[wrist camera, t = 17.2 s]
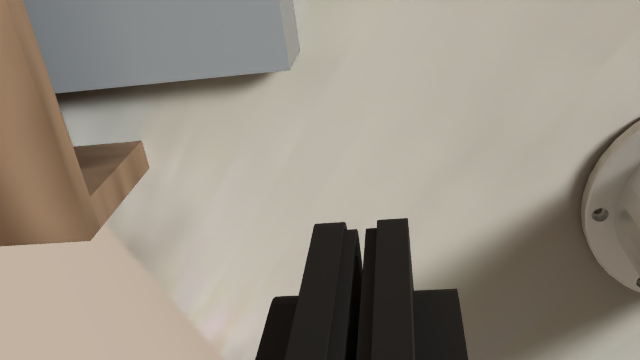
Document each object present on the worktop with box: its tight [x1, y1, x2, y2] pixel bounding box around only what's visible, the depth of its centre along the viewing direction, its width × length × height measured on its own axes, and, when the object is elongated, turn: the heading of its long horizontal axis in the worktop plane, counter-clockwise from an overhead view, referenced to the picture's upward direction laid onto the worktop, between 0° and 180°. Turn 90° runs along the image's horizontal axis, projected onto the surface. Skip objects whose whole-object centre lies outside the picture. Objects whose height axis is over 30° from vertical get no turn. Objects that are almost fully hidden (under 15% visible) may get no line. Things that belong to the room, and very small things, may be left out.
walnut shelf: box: [0, 0, 149, 246], centre depth 31 cm, size 8×15×8 cm, turn 8°
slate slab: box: [23, 0, 300, 93], centre depth 32 cm, size 16×5×4 cm, turn 98°
